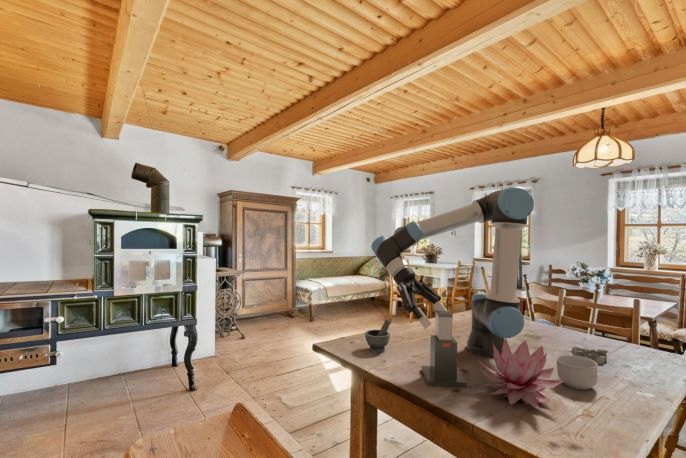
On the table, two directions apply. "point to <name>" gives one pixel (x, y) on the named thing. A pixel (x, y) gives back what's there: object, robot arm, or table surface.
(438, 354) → the sleeve
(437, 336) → the steel post
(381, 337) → the mortar and pestle
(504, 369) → the decorative flower
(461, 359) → the table surface
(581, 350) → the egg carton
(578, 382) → the teacup
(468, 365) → the table surface
